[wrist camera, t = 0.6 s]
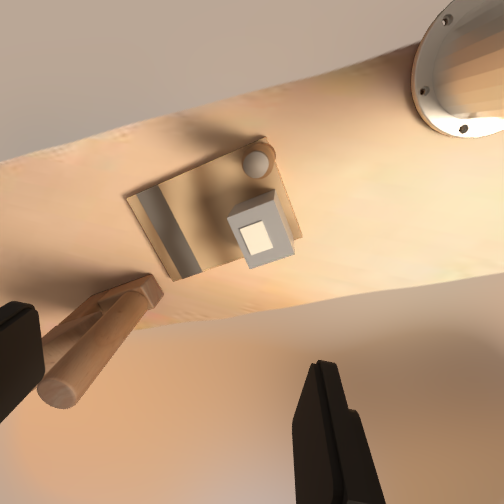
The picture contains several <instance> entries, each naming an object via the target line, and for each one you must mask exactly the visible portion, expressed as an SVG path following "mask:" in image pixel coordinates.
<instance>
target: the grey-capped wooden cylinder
mask: <svg viewBox="0 0 504 504" xmlns="http://www.w3.org/2000/svg"><path fill="white" fill-rule="evenodd" d="M275 158H276V154H275V150H274V149H273V147H272V146H271V145H269V144H267V143H258V144H256V145H254V146H252V147H250V148H249V149H247V150H246V151H245V153H244V154H243V157H242V161H241V164H242V168H243V171H244V172H245V174H246V175H247V176H249V177H250V178H252V179H263V178H265V177H267V176H268V175H269V174H270V173H271V171H272V169H273V166H274V162H275Z"/></svg>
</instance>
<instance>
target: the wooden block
mask: <svg viewBox="0 0 504 504" xmlns="http://www.w3.org/2000/svg"><path fill="white" fill-rule="evenodd" d="M163 295H164V293H163V292H162V290H161V288H160V286H159V285H158V283H157V281H156V280H155V278H154V276H153V275H152V274H150V275H147V276H145V277H142V278H139V279H136V280H134V281H131V282H128V283H126V284H123V285H120V286H117V287H115V288H112V289H110V290H106V291H104V292H101V293H98V294H96V295H93V296H91V297H90V298H88V299H87V300H86V301H85V302H84V303H83V304H82V305H80V306H79V307H78V308H77V309H76V310H75V311H73V312H72V313H71V314H70V315H69V316H68V317H66V318H65V319H64V320H63V321H62V322H61V323H60V324H59V325H58V326H55V327H54V328H53V329H52V330H51V331H49V332H48V333H47V334H46V335H45V336H44V337H42V338H41V339H42V347H43V355H44V363H45V374H44V377H43V378H42V380H41V381H40V382H39V383H38V384H37V386H36V387H35V388H34V389H36V388H37V392H38V395H39V396H40V397H41V399H42V400H43V401H44V402H46V403H47V404H49V405H50V406H53V407H55V408H59V409H68V408H70V407H72V406H74V405H76V403H77V402H78V401H79V400H80V398H81V397H82V396H83V394H84V393H85V392H86V390H87V389H88V388H89V386H90V385H91V384H92V382H93V381H94V380H95V378H96V377H97V376H98V375H99V373H100V372H101V371H102V369H103V368H104V367H105V365H106V364H107V363H108V361H109V360H110V359H111V357H112V356H113V355H114V353H115V352H116V351H117V349H118V348H119V347H120V345H121V344H122V343H123V341H124V340H125V339H126V337H127V336H128V335H129V334H130V332H131V331H132V330H133V328H134V327H135V326H136V324H137V323H138V322H139V320H140V319H141V318H142V316H143V315H144V314H145V312H146V311H147V310H150V309H153V308H155V306H156V305H157V304H158V302H159V301H160V299H161V298H162V297H163ZM34 389H33V390H34ZM33 390H32V391H33Z"/></svg>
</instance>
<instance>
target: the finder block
mask: <svg viewBox="0 0 504 504" xmlns="http://www.w3.org/2000/svg"><path fill="white" fill-rule="evenodd" d="M227 220H228V222H229V224H230V227H231V229H232V231H233V233H234V235H235V238H236V240H237V242H238V244H239V247H240V249H241V251H242V253H243V255H244V258H245V260H246V262H247V264H248V266H249V269H252V268H255V267H258V266H261V265H264V264H267V263H270V262H273V261H276V260H279V259H282V258H285V257H288V256H291V255H294V254H295V251H294V240H293V235H292V232H291V229H290V227H289V224H288V222H287V219H286V216H285V214H284V211H283V208H282V206H281V203H280V200H279V198H278V195H277V193H276V190H275V189H274V190H272V191H269V192H267V193H264V194H262V195H259V196H257V197H254V198H252V199H249V200H246V201H244V202H241V203H239V204H236V205H235V206H234V207H233V209H232V210H231V212H230V213H229V215H228V217H227Z"/></svg>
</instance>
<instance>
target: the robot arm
mask: <svg viewBox="0 0 504 504" xmlns="http://www.w3.org/2000/svg"><path fill="white" fill-rule="evenodd" d="M442 20H444V21H445V25H443V23H442ZM411 89H412V96H413V101H414V103H415V106H416V109H417V111H418V113H419V114H420V116H421V117H422V119H423V120H424V121H425V122H426V123H427V124H428V125H429V126H430V127H431V128H432V129H434V130H436V131H438V132H439V133H441V134H444V135H447V136H450V137H456V138H479V137H484V136H489V135H492V134H494V133H497V132H500V131H503V130H504V0H454V1H452V2H451V3H450V4H449V5H448V6H447V7H446V8H445V9H444V10H443V11H442V12H441V13H440V14H439V15H438V16H437V18H436V19H435V20H434V22H433V23H432V24H431V25H430V27H429V28H428V30H427V31H426V33H425V35H424V37H423V39H422V40H421V42H420V45H419V47H418V50H417V52H416V55H415V58H414V63H413V67H412V74H411ZM421 89H422V90H423V94H422V95H421V94H420V90H421ZM460 127H461V130H460V131H459V128H460ZM44 374H45V363H44V355H43V347H42V339H41V331H40V323H39V315H38V311H37V310H35V308H34V306H33V305H31V304H27V303H22V302H17V301H11V302H9V303H7V304H5V305H4V306H2V307H1V308H0V423H1V422H2V421H3V420H4V419H5V418H6V417H7V416H8V415H9V414H10V413H11V412H12V411H13V410H14V409H15V407H16V406H17V405H18V404H19V403H20V402H21V401H22V400H23V399H24V398H25V397H26V396H27V395H28V394H29V393H30V392H31V391H32V390H33V389H34V388H35V387H36V386H37V384H38V383H39V382H40V381H41V380H42V378H43V377H44ZM292 439H293V456H294V472H295V489H296V490H295V491H296V504H386V503H385V499H384V496H383V492H382V489H381V486H380V483H379V479H378V476H377V473H376V469H375V466H374V463H373V459H372V456H371V453H370V449H369V446H368V443H367V439H366V436H365V433H364V430H363V426H362V423H361V419H360V417H359V414H358V413H357V411H356V410H352V409H348V405H347V401H346V398H345V394H344V390H343V387H342V383H341V379H340V375H339V372H338V368H337V365H336V364H335V363H332V362H327V361H322V360H318V361H317V363H316V364H313V363H312V364H311V366H310V368H309V372H308V375H307V378H306V381H305V384H304V387H303V390H302V393H301V396H300V399H299V402H298V406H297V408H296V411H295V414H294V418H293V422H292Z"/></svg>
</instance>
